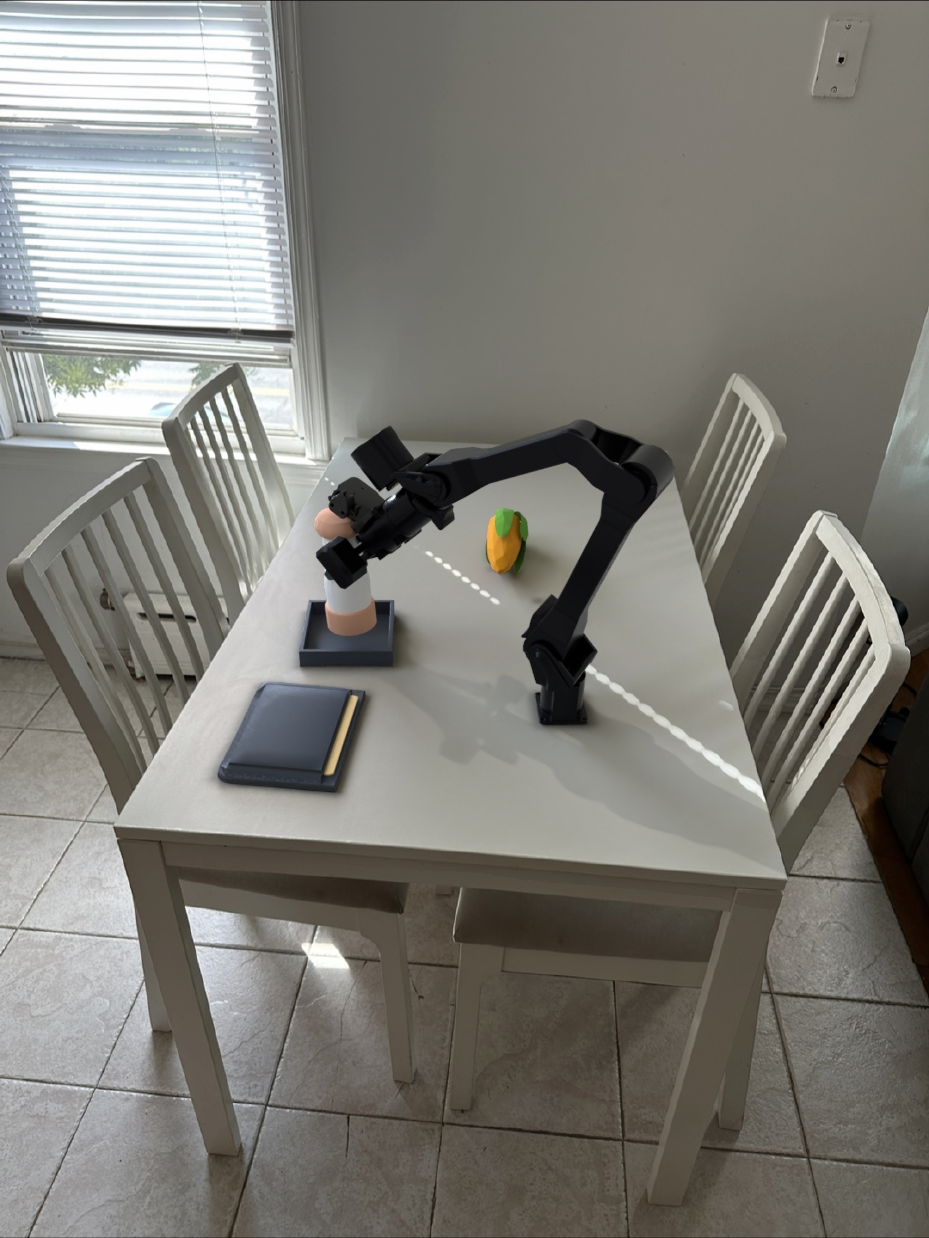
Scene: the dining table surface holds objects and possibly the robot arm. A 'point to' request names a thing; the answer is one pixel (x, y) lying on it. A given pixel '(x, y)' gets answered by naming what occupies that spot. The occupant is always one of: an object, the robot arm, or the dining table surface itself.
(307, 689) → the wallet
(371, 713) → the dining table surface
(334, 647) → the tray
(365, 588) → the pepper shaker
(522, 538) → the corn
